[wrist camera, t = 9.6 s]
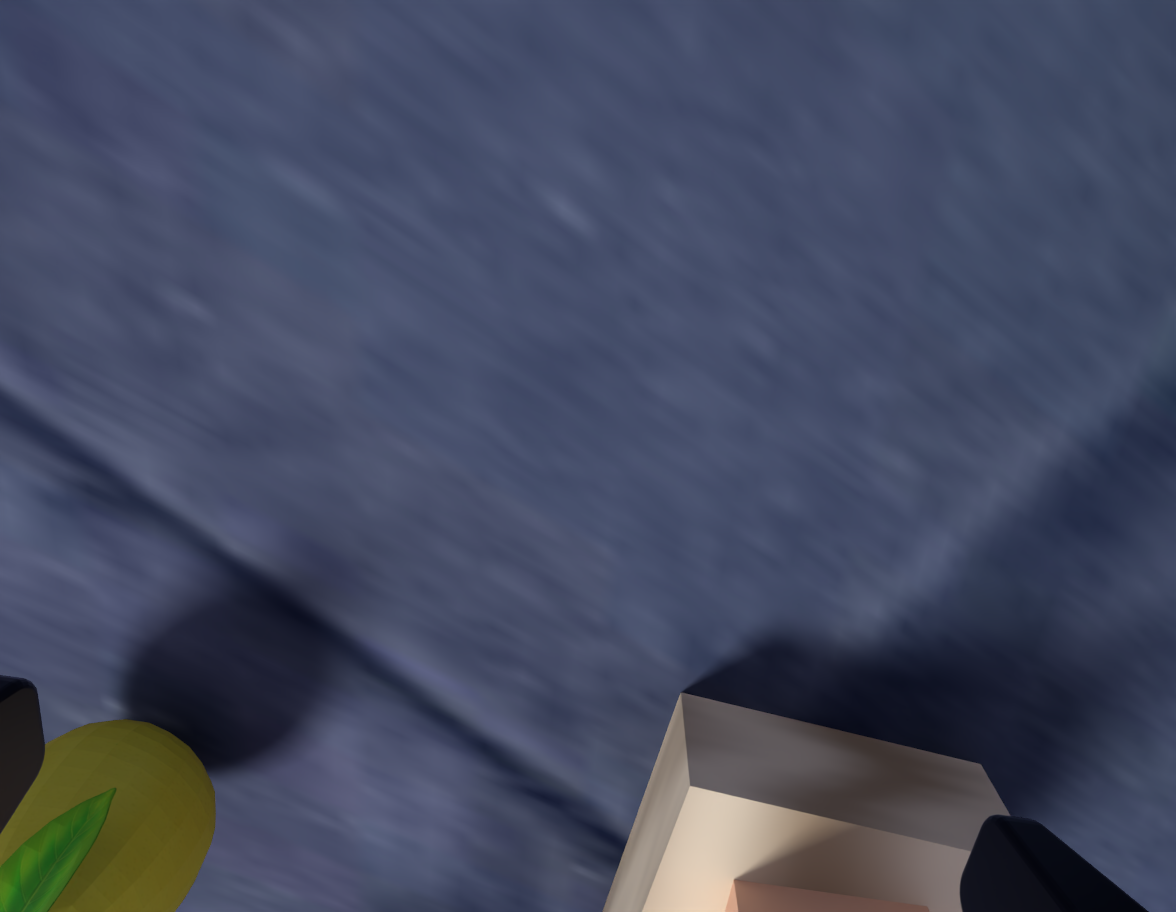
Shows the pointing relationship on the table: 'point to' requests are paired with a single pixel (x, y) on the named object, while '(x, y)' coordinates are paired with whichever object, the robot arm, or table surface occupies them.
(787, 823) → the beech block
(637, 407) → the table surface
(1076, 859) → the robot arm
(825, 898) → the terracotta cube
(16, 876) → the lemon
